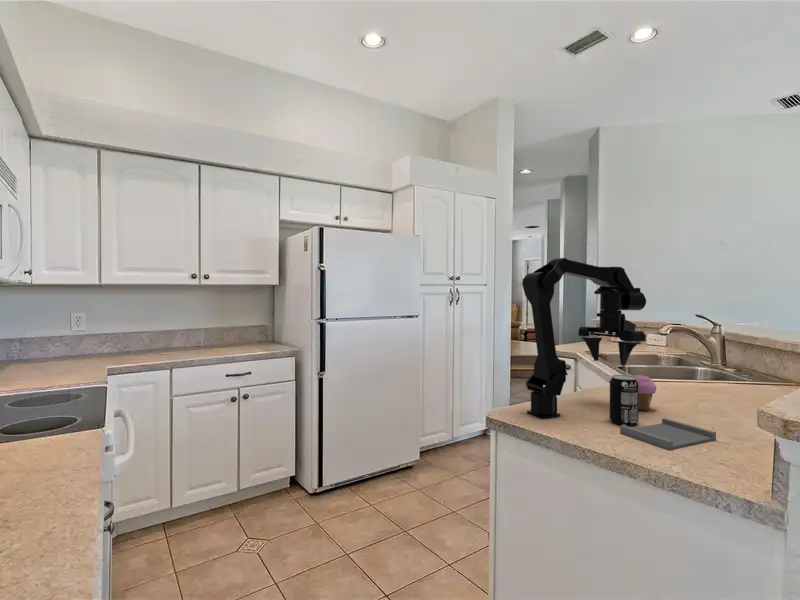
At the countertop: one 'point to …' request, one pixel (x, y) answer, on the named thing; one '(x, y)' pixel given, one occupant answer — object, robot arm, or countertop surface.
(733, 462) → the countertop surface
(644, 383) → the cupcake
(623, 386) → the beverage can
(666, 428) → the grey tray
